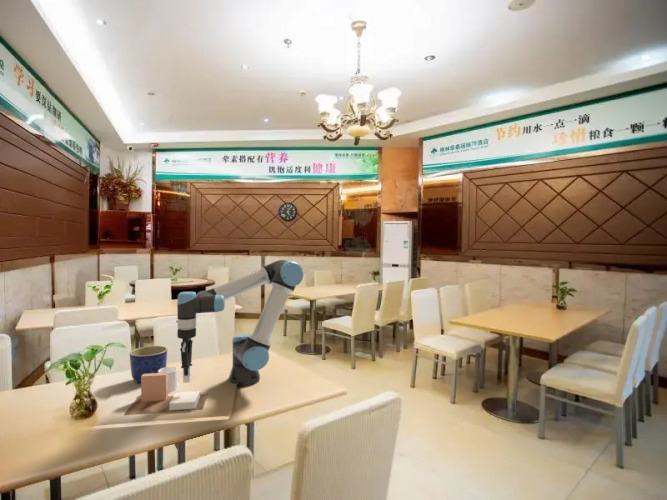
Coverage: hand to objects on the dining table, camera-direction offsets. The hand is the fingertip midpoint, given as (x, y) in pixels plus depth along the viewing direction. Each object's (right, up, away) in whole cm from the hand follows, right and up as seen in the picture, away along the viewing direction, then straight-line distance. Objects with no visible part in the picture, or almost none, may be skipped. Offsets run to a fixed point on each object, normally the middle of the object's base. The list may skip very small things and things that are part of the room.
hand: (186, 381), depth 162 cm
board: (-6, -9, -3) cm, 12 cm away
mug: (-15, -9, +11) cm, 21 cm away
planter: (-29, -9, +25) cm, 39 cm away
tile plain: (-14, -8, +1) cm, 16 cm away
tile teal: (0, -6, +2) cm, 6 cm away
